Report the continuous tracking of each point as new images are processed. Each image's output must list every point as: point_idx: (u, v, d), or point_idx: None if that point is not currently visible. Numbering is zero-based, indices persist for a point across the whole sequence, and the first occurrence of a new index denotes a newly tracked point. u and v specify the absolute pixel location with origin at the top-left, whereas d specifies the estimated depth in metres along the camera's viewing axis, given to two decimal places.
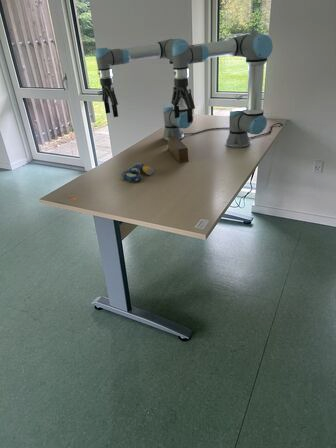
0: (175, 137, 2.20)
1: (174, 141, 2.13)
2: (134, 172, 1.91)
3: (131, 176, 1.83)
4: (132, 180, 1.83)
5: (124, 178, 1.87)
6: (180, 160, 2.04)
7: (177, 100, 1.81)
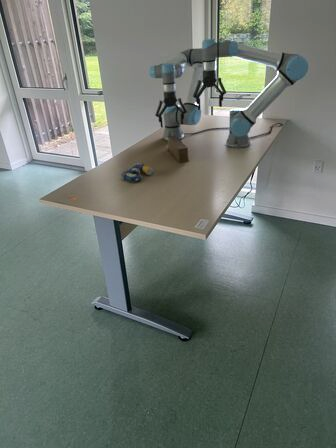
0: (175, 137, 2.20)
1: (174, 141, 2.13)
2: (134, 172, 1.91)
3: (131, 176, 1.83)
4: (132, 180, 1.83)
5: (124, 178, 1.87)
6: (180, 160, 2.04)
7: None
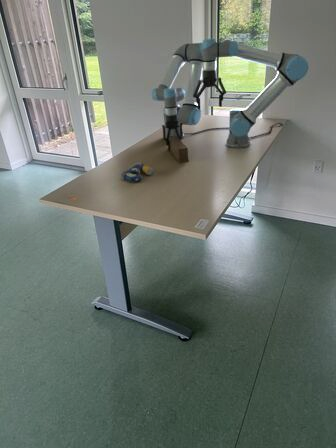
0: (175, 137, 2.20)
1: (174, 141, 2.13)
2: (134, 172, 1.91)
3: (131, 176, 1.83)
4: (132, 180, 1.83)
5: (124, 178, 1.87)
6: (180, 160, 2.04)
7: None
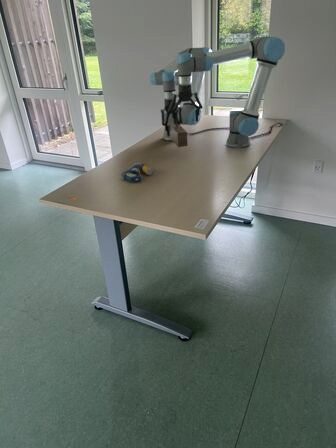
0: None
1: (173, 126, 2.08)
2: (134, 172, 1.91)
3: (131, 176, 1.83)
4: (132, 180, 1.83)
5: (124, 178, 1.87)
6: (179, 145, 1.99)
7: None
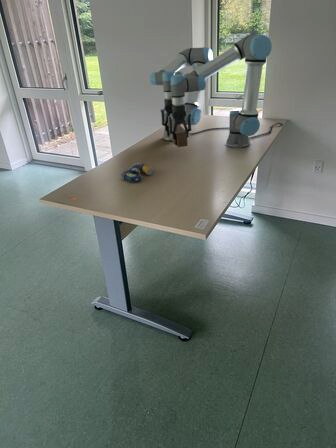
0: None
1: None
2: (134, 172, 1.91)
3: (131, 176, 1.83)
4: (132, 180, 1.83)
5: (124, 178, 1.87)
6: (179, 145, 1.99)
7: None
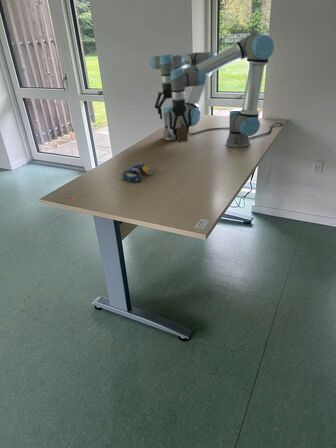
0: None
1: (173, 121, 2.07)
2: (134, 172, 1.91)
3: (131, 176, 1.83)
4: (132, 180, 1.83)
5: (124, 178, 1.87)
6: (179, 140, 1.98)
7: None
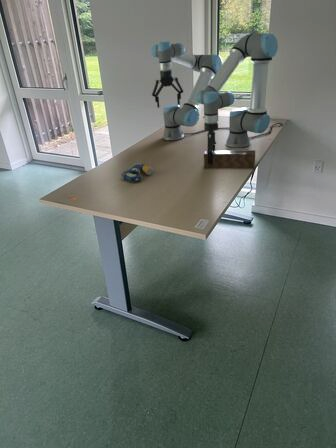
0: (245, 153, 1.85)
1: (231, 151, 1.90)
2: (134, 172, 1.91)
3: (131, 176, 1.83)
4: (132, 180, 1.83)
5: (124, 178, 1.87)
6: None
7: None
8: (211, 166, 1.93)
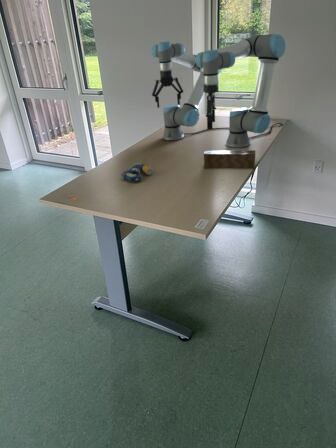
0: (245, 153, 1.85)
1: (231, 151, 1.90)
2: (134, 172, 1.91)
3: (131, 176, 1.83)
4: (132, 180, 1.83)
5: (124, 178, 1.87)
6: None
7: None
8: (211, 166, 1.93)
